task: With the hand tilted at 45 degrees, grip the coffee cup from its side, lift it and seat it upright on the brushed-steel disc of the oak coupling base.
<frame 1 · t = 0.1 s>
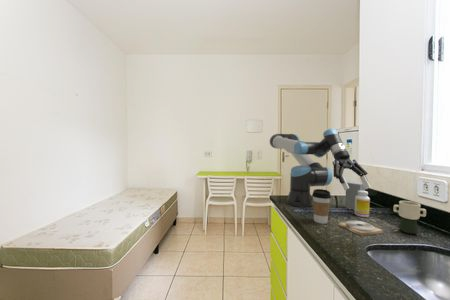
hand: (357, 188, 110), 15 cm above the worktop, tool tilted 35°, fingers open, 13 cm apart
skincare box: (354, 209, 126), on the worktop
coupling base: (359, 228, 98), on the worktop
character mug: (407, 232, 95), on the worktop
supplement bottle: (361, 215, 116), on the worktop
coffee cup: (320, 221, 106), on the worktop
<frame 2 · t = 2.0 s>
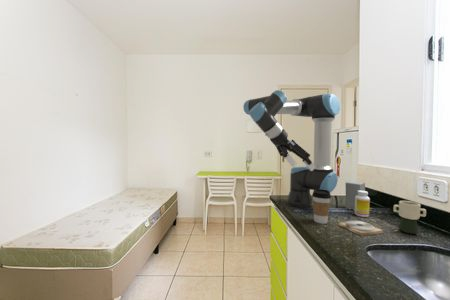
hand: (303, 167, 102), 27 cm above the worktop, tool tilted 45°, fingers open, 13 cm apart
nothing on the worktop moved.
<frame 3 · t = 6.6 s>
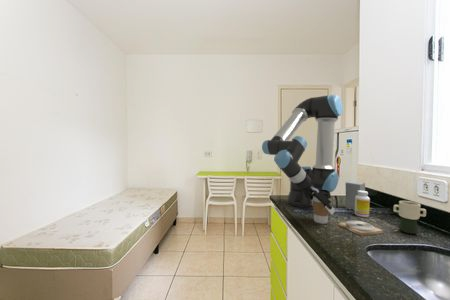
hand: (326, 209, 107), 6 cm above the worktop, tool tilted 45°, fingers closed on coffee cup, 8 cm apart
coffee cup: (320, 221, 106), on the worktop, touching gripper
everything else where it was.
when the fingers open (9 cm above the worktop, at t = 11.4 s): coffee cup moves 1 cm, resting on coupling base.
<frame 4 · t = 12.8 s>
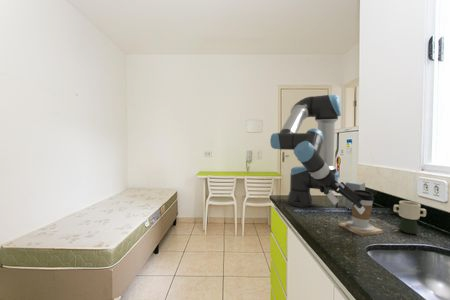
hand: (348, 206, 95), 11 cm above the worktop, tool tilted 45°, fingers open, 13 cm apart
coffee cup: (359, 225, 97), point 2 cm above the worktop, touching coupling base
everything else where it was.
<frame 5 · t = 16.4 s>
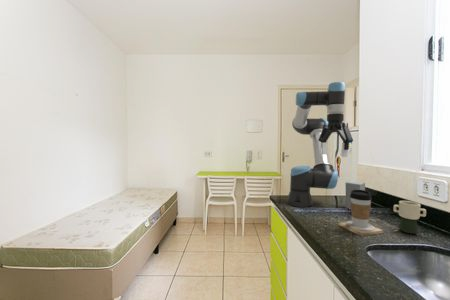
hand: (333, 155, 111), 32 cm above the worktop, tool pointing down, fingers open, 13 cm apart
nothing on the worktop moved.
at the end: coffee cup 0.4 cm from the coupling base (horizontally); coffee cup tilted 2°; coffee cup point 1.7 cm above the worktop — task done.
